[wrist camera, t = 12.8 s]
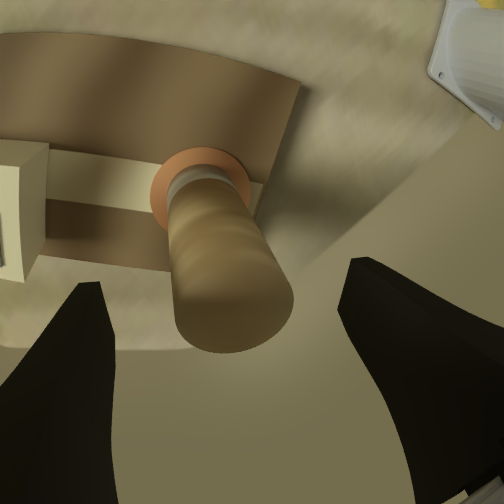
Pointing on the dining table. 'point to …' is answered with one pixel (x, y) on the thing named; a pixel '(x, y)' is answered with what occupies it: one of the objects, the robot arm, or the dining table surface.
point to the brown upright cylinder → (221, 266)
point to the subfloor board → (134, 134)
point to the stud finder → (21, 205)
